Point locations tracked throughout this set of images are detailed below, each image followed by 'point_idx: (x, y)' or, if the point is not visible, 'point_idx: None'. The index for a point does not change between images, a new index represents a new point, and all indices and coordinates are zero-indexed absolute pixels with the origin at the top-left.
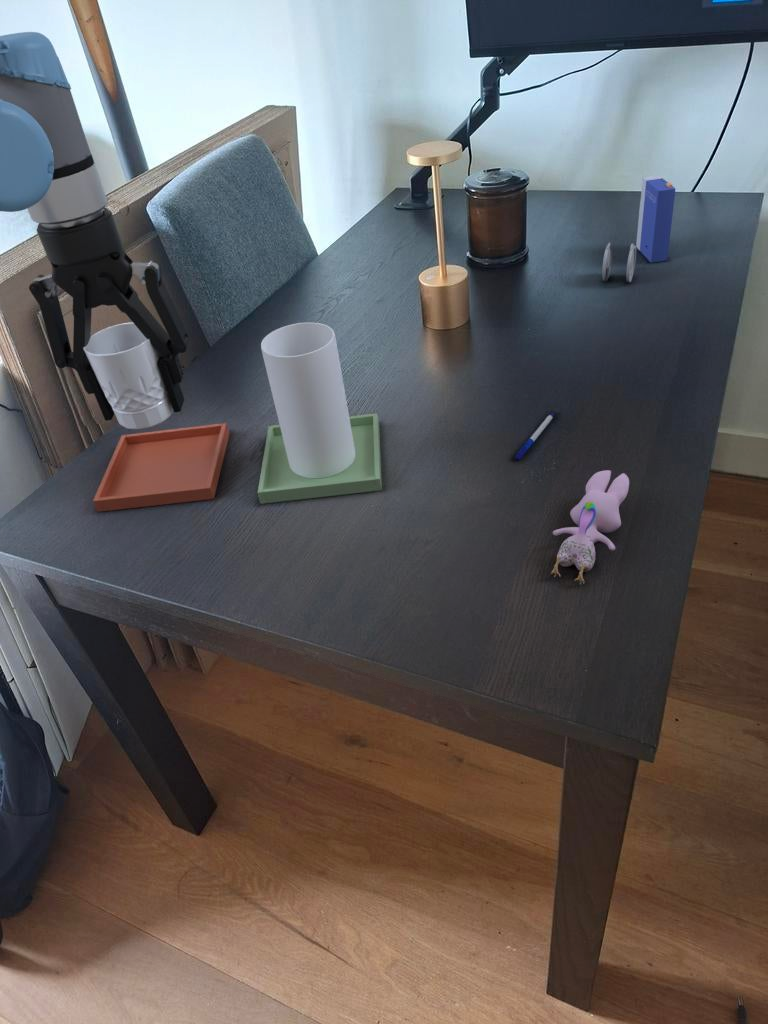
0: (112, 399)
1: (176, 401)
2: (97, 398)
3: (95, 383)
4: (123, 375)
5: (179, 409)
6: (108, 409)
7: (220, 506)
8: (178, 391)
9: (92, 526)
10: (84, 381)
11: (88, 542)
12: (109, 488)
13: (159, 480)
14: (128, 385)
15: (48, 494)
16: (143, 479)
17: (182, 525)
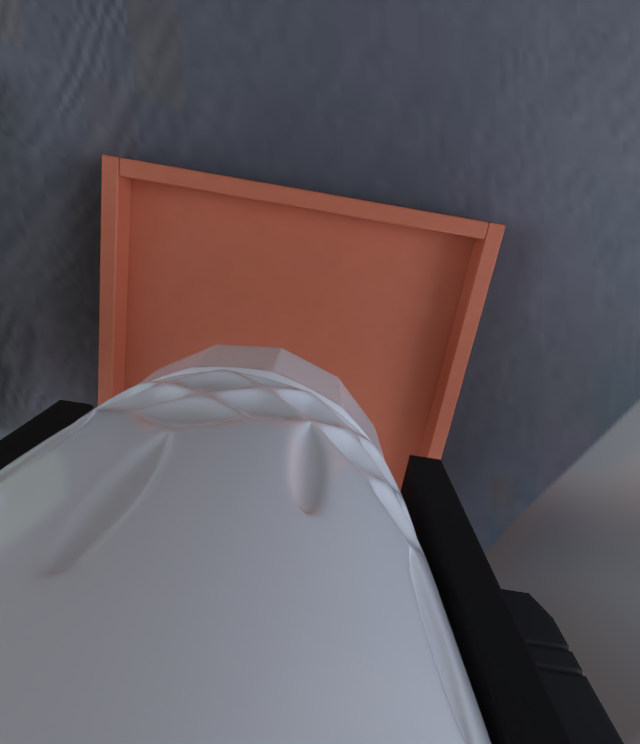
0: (358, 456)
1: (27, 425)
2: (470, 539)
3: (477, 625)
4: (103, 510)
5: (56, 405)
6: (416, 496)
7: (97, 110)
8: None
9: (507, 150)
10: (565, 680)
11: (522, 59)
12: (452, 324)
13: (298, 309)
14: (145, 441)
15: (634, 375)
16: (348, 333)
17: (213, 42)
